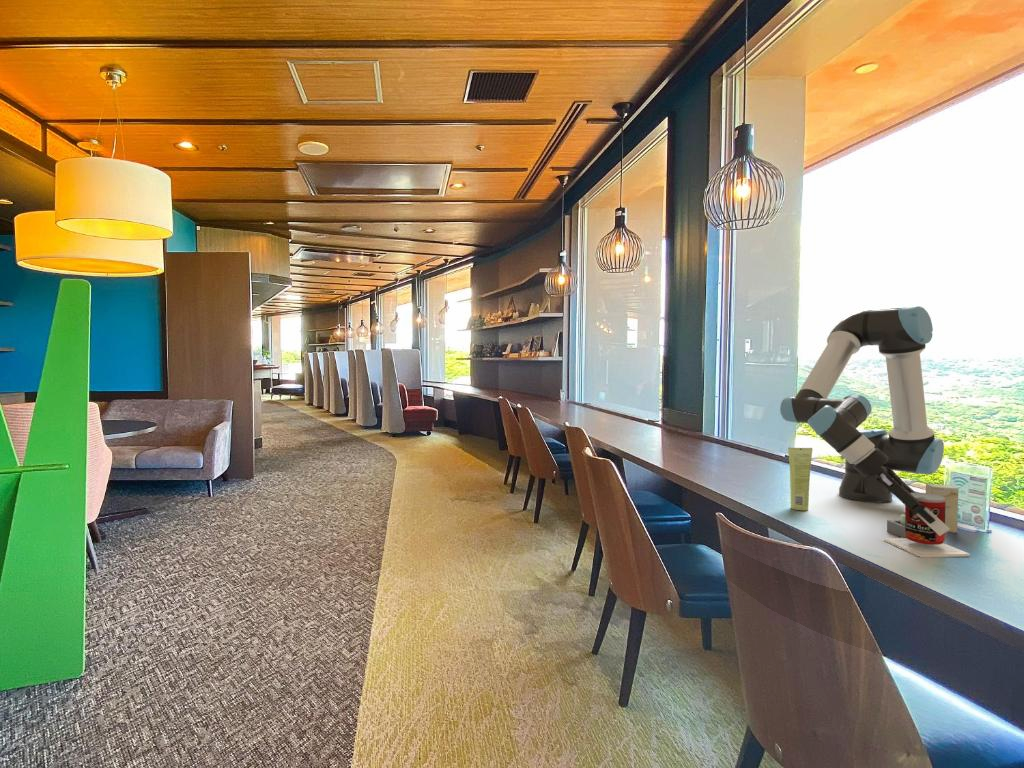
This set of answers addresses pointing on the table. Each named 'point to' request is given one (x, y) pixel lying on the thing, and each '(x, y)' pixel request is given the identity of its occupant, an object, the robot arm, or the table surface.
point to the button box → (896, 528)
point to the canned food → (917, 527)
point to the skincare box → (947, 503)
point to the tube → (800, 477)
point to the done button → (902, 519)
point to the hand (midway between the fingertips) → (942, 527)
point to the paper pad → (926, 548)
